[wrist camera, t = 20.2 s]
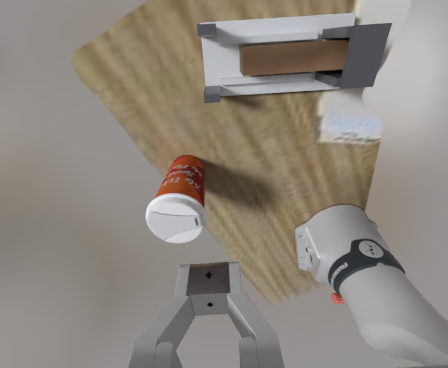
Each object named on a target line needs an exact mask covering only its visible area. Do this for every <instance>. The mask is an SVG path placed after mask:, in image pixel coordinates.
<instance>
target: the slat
mask: <svg viewBox="0 0 448 368" xmlns="http://www.w3.org/2000/svg"><path fill="white" fill-rule="evenodd" d="M349 40H350V39H340V40H326V41H312V42H298V43H284V44H270V45H256V46H242V47H239V60H240V73H241V74H242V75H243V76H252V75H266V74H280V73H295V72H309V71H324V70H338V69H343V67H344V62H345V58H346V53H347V49H348V44H349Z"/></svg>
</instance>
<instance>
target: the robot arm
mask: <svg viewBox="0 0 448 368" xmlns="http://www.w3.org/2000/svg"><path fill="white" fill-rule="evenodd" d="M377 228H378V227H377V225H376V224H375V223H374V222H373V221H371V220H369V219H368V217H367V215H366V213H365V212H364V211H363V210H362V209H360V208H359V207H356V206H353V205H337V206H333V207H330V208H327V209H325V210H323V211H321V212H319V213H317V214H316V215H315V216H313V217H312V218H311V219H310V220H309V221H308V222H307V223H305V224H303V225H301V226H299V227H297V228H296V229H295V242H296V252H297V262H298V266H299V268H300V269H302V270H305V271H310V272H311V274H312V276H313V278H314V280H316V281H317V282H319V283H323V284H328V285H331V286H332V288H333V289H334V290H335V291H336V292H337V293H332V300H333V302H334V303H335V304H339V303H342V304H344V303H345V305H346V307H347V309H348V311H349V313H350V315H351V317H352V319H353V321H354V323H355V325H356V328H357V330H358V332H359V333H360V335H361V337H362V338H363V339H364V340H365V341H366V342H367V343H368V344H369V345H370V346H371V347H373V348H374V349H376V350H377V351H380V352H382V353H384V354H388V355H390V356H394V357H398V358H403V359H407V360H412V361H415V362H419V363H421V364H424V365H425V366H416V367H398V368H448V320H446V319H445V318H444V317H443V316H442V315H441V314H440V313H439V312H438V311H437V310H436V309H435V308H434V307H433V306H432V305H431V304H430V303H429V302H428V301H427V300H426V299H425V298H424V297H423V295H422V294H421V293H420V292H419V291H418V290H417V289H416V288H415V287H414V285H413V284H412V283H411V282H410V280H409V279H408V278H407V277H406V276H405V271H404V269H403V268H402V266H401V265H400V263H399V262H398V261H397V260H396V259H395V258H394V256H393V255H392V254H391V251H390V249H389V248H388V246H387V245H386V243H385V242H384V240H383V239H382V237H381V236H380V235H379V233H378V231H377ZM211 314H229V316H230V318H231V319H232V321H233V323H234V324H235V326H236V328H237V330H238V331H239V333H240V335H241V337H242V338H241V340H240V341H239V347H240V348H239V349H240V368H284V364H283V360H282V354H281V350H280V345H279V340H278V335H277V334H276V332H275V331H274V330H273V328H272V327H271V326H270V324H269V323H268V322H267V320H266V319H265V318H264V317H263V315H262V314H261V313H260V311H259V310H258V309H257V307H256V306H255V305H254V303H253V302H252V301H251V300H250V298H249V297H248V296H247V294H246V293H242V286H241V276H240V266H239V261H236V262H219V263H209V264H184V265H180V267H179V272H178V279H177V284H176V290H175V296H173V297H171V298H170V299H169V300H168V302H167V303H166V304H165V305H164V307H163V308H162V309H161V311H160V312H159V313H158V314H157V316H156V317H155V318H154V319H153V321H152V322H151V323H150V324H149V326H148V327H147V328H146V330H145V331H144V332H143V333H142V335H141V336H140V337H139V338H138V340H137V341H136V342H135V346H134V350H133V353H132V357H131V360H130V364H129V368H182V364H181V362H180V360H179V357H178V355H177V353H176V349H177V347H178V346H179V344H180V342H181V340H182V339H183V337H184V335H185V333H186V332H187V330H188V328H189V326H190V324H191V323H192V321H193V319H194V318H195V317H194V316H199V315H211Z"/></svg>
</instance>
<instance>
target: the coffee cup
mask: <svg viewBox="0 0 448 368" xmlns="http://www.w3.org/2000/svg"><path fill="white" fill-rule="evenodd" d="M146 221H147V225H148V227H149V228H150V229H151V231H152V232H153V233H154V234H155V235H156V236H157V237H159V238H161V239H162V240H164V241H167V242H171V243H184V242H188V241H191V240H193V239H194V238H196V237H197V236H198V235H199V234H200V232H201V231H202V229H203V228H204V227H205V225H206V222H207V214H206V211H205V209H204V169H203V165H202V163H201V162H200V160H199V159H197V158H196V157H194V156H191V155H183V156H180V157H178V158H177V159H176V160H175V161H174V162H173V164H172V166H171V167H170V169H169V171H168V173H167V175H166V177H165V179H164V181H163V183H162V185H161V187H160V189H159V191H158V193H157V195H156V197H155V199H154V200H152V201H151V203H150V204H149V205H148V207H147V211H146Z"/></svg>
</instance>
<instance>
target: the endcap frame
mask: <svg viewBox="0 0 448 368" xmlns="http://www.w3.org/2000/svg"><path fill="white" fill-rule="evenodd" d="M355 17H356V13H346V14H330V15H315V16H300V17H284V18H269V19H253V20H238V21H222V22H207V23H200V24H197V30H198V36H200V37H201V38H202V49H203V60H204V71H205V82H206V88H205V92H204V101H205V103H212V102H220V96H232V95H248V94H264V93H280V92H296V91H312V90H328V89H340V87H341V88H357V87H372V86H373V85H374V81H375V78H376V75H377V71H378V68H379V65H380V61H381V58H382V55H383V51H384V48H385V45H386V41H387V38H388V35H389V31H390V28H391V25H392V23H385V24H369V25H356V26H354V22H355ZM340 39H350V40H349V44H348V49H347V53H346V58H345V62H344V67H343V69H338V70H324V71H309V72H295V73H280V74H266V75H252V76H243V75H242V74H241V73H240V60H239V47H242V46H256V45H270V44H284V43H298V42H312V41H326V40H340Z"/></svg>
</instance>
